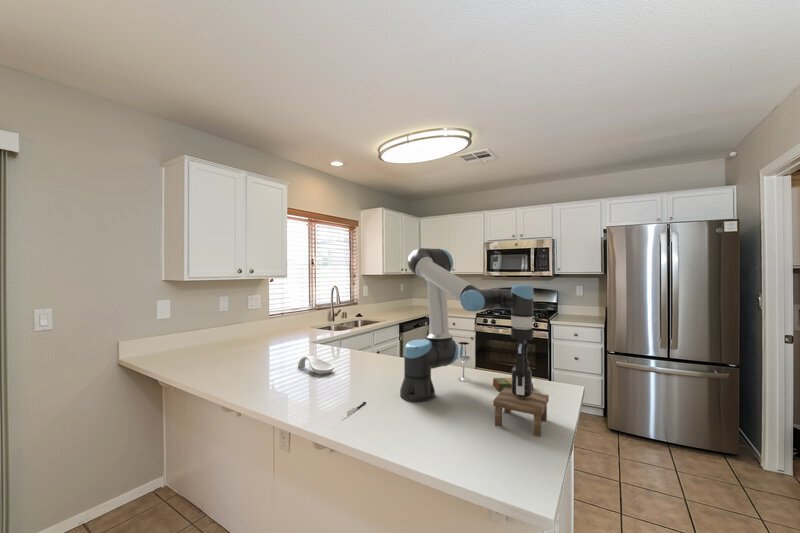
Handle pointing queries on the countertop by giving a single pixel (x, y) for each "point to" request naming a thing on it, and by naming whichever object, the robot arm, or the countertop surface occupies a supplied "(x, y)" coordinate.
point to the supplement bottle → (527, 380)
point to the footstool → (522, 407)
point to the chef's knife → (355, 409)
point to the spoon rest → (317, 365)
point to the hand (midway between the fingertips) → (521, 390)
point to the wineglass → (464, 356)
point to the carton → (503, 383)
